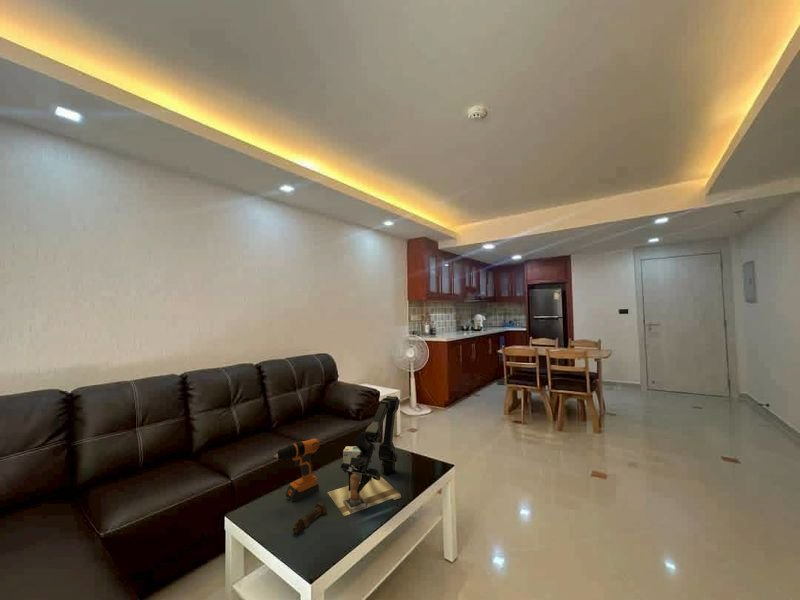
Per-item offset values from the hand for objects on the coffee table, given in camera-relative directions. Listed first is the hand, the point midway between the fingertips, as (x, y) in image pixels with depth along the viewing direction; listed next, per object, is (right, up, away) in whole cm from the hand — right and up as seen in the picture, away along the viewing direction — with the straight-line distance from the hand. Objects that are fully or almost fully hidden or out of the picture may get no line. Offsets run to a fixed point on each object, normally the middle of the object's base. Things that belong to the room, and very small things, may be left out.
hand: (353, 491), depth 143 cm
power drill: (-27, -8, +10) cm, 30 cm away
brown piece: (+1, -6, +1) cm, 6 cm away
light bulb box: (-5, -9, +37) cm, 38 cm away
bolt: (-17, -8, -9) cm, 21 cm away
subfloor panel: (+4, -8, +10) cm, 13 cm away
